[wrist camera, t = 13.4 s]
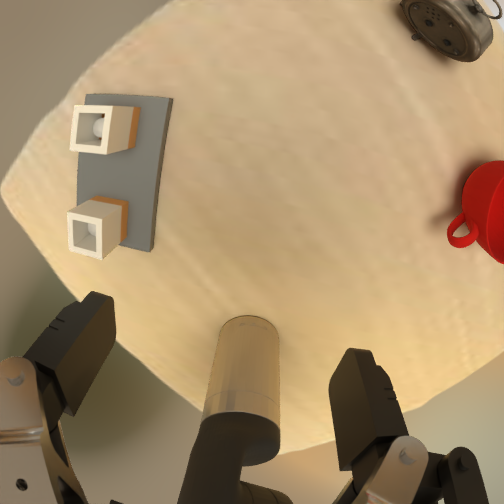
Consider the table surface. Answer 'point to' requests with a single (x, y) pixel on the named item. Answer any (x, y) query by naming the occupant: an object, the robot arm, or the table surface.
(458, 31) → the alarm clock
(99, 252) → the pin board
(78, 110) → the sleeve
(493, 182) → the ceramic cup
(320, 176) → the table surface
